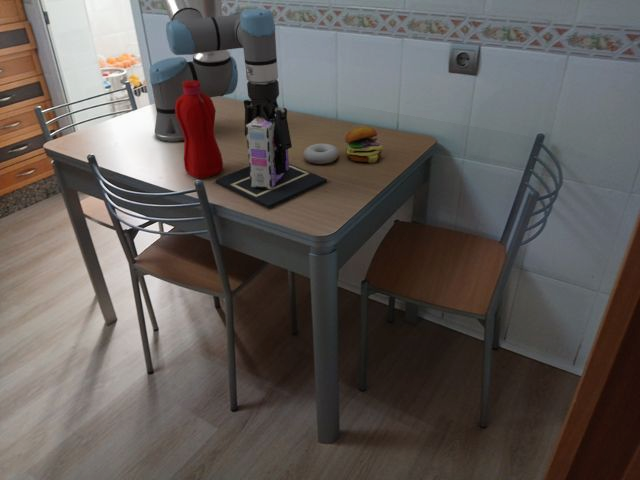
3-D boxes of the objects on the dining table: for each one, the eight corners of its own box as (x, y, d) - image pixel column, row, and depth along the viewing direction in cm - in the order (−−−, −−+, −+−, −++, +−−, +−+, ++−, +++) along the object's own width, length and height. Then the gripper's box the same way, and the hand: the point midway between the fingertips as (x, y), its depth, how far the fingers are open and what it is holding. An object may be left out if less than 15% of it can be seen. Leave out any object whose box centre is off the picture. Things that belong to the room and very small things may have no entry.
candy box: (272, 190, 131) (267, 126, 122) (250, 187, 132) (244, 125, 124) (289, 168, 142) (286, 109, 134) (269, 166, 144) (265, 107, 135)
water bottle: (205, 184, 138) (190, 89, 125) (181, 173, 145) (164, 82, 131) (232, 173, 144) (220, 81, 131) (208, 162, 150) (195, 74, 137)
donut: (297, 162, 149) (327, 168, 144) (296, 151, 147) (326, 156, 143) (316, 150, 156) (345, 156, 152) (315, 139, 155) (344, 144, 150)
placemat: (215, 182, 139) (215, 179, 138) (272, 160, 151) (272, 156, 150) (269, 209, 125) (268, 205, 125) (327, 182, 137) (327, 178, 137)
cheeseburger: (359, 167, 144) (354, 131, 141) (340, 163, 153) (336, 129, 150) (389, 159, 148) (385, 124, 145) (369, 155, 157) (365, 122, 154)
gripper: (223, 76, 128) (234, 162, 140) (279, 91, 115) (286, 184, 127) (247, 70, 133) (255, 154, 144) (304, 84, 120) (308, 175, 132)
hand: (269, 168), depth 136 cm, fingers closed on candy box, 8 cm apart
